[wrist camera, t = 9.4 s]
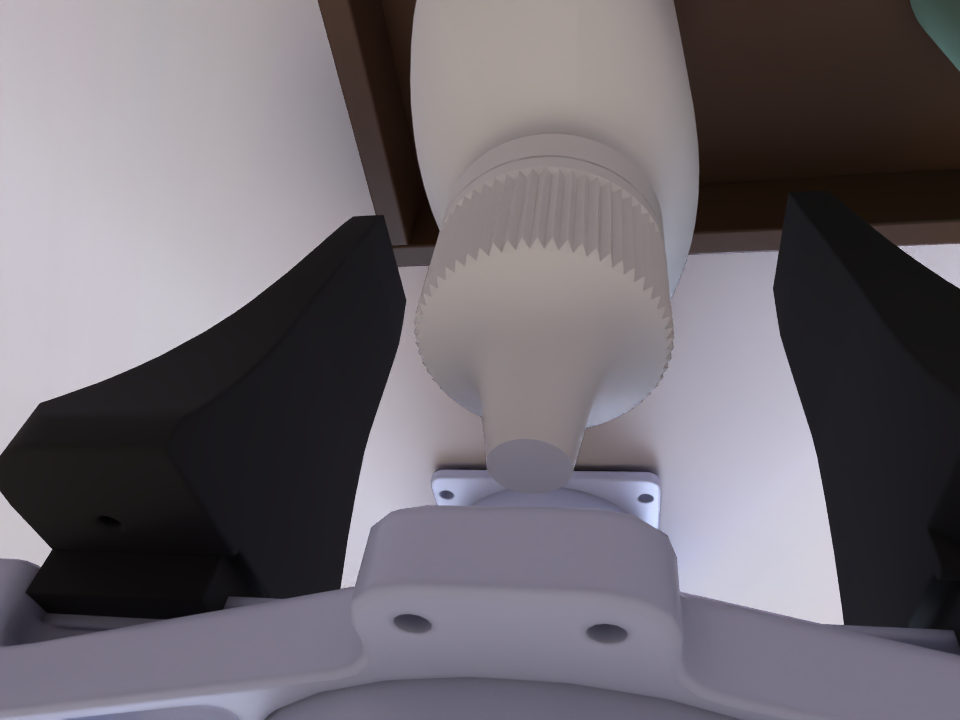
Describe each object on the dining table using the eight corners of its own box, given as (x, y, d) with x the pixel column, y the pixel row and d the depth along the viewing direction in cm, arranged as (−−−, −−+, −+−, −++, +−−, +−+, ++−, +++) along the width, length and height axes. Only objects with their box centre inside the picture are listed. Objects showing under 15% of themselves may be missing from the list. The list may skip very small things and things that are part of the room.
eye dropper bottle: (440, 89, 16) (250, 574, 8) (506, -223, 12) (274, 42, 4) (627, 144, 17) (649, 668, 8) (748, -143, 13) (1048, 268, 4)
